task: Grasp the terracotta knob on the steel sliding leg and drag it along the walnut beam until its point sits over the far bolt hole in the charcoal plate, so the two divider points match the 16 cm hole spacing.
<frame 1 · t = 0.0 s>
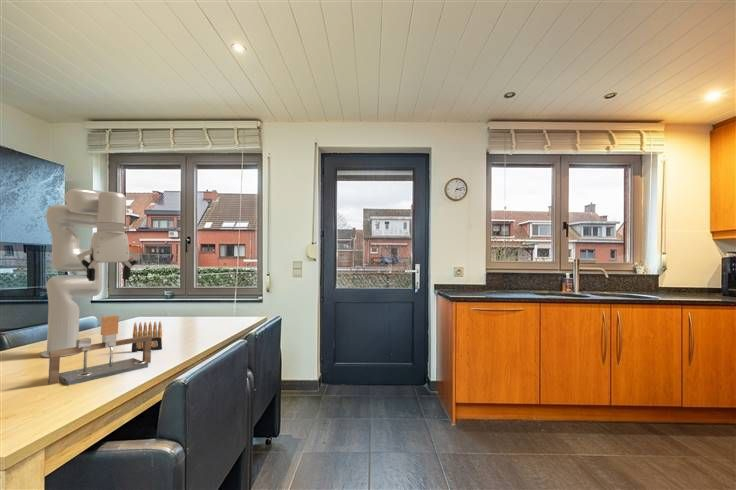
hand: (109, 280, 114), 31 cm above the table, tool pointing down, fingers open, 9 cm apart
sliding leg: (109, 341, 117), point 10 cm above the table, slide at 3.0 cm
ammunition clip: (146, 350, 144), on the table
divider frame: (104, 372, 116), on the table
bolt plate: (104, 372, 116), on the table
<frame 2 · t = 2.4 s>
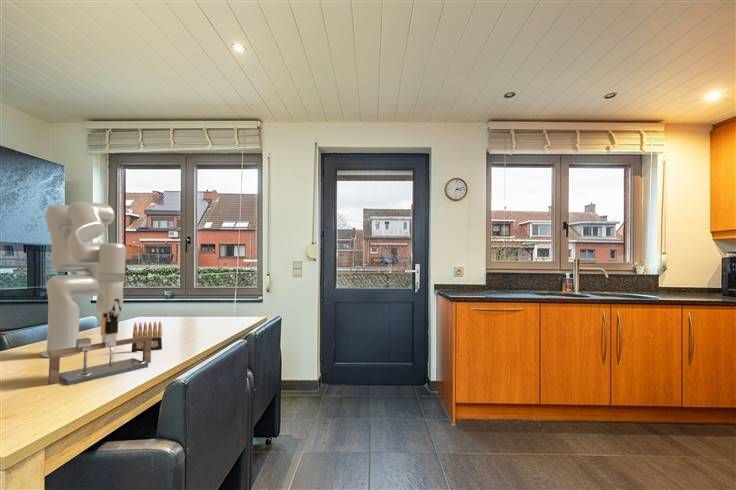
hand: (109, 332, 117), 13 cm above the table, tool pointing down, fingers closed on sliding leg, 3 cm apart
sliding leg: (109, 341, 117), point 10 cm above the table, slide at 3.0 cm, touching gripper
everything else where it was.
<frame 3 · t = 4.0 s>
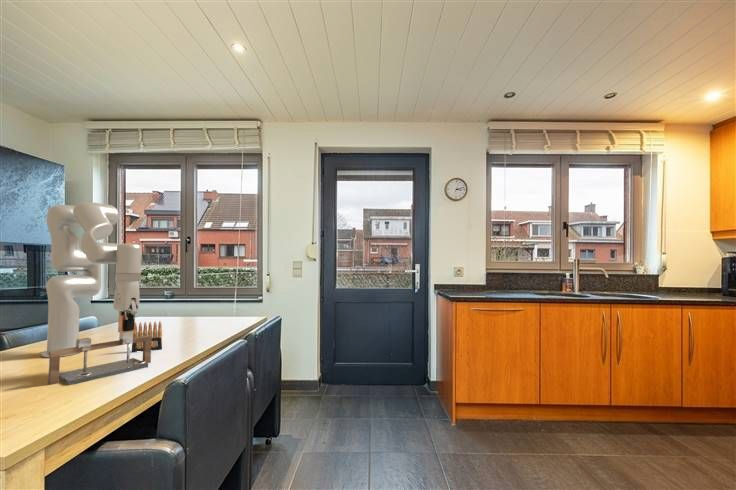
hand: (126, 329, 122), 13 cm above the table, tool pointing down, fingers closed on sliding leg, 3 cm apart
sliding leg: (126, 338, 121), point 10 cm above the table, slide at 8.1 cm, touching gripper
everything else where it was.
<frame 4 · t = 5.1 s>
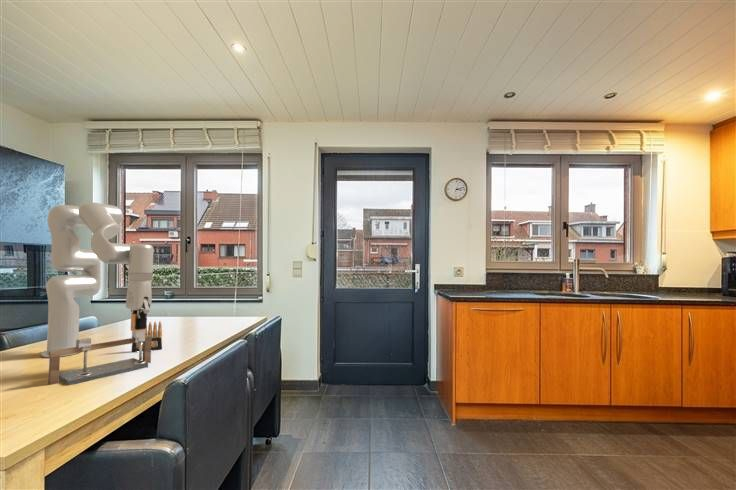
hand: (138, 327, 125), 13 cm above the table, tool pointing down, fingers closed on sliding leg, 3 cm apart
sliding leg: (139, 336, 124), point 10 cm above the table, slide at 12.0 cm, touching gripper
everything else where it was.
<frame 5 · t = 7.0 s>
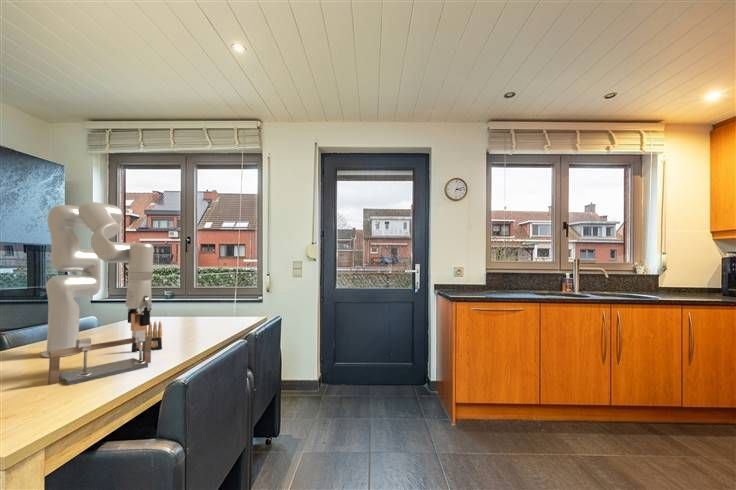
hand: (138, 323, 125), 15 cm above the table, tool pointing down, fingers open, 9 cm apart
sliding leg: (139, 336, 124), point 10 cm above the table, slide at 12.0 cm
everything else where it was.
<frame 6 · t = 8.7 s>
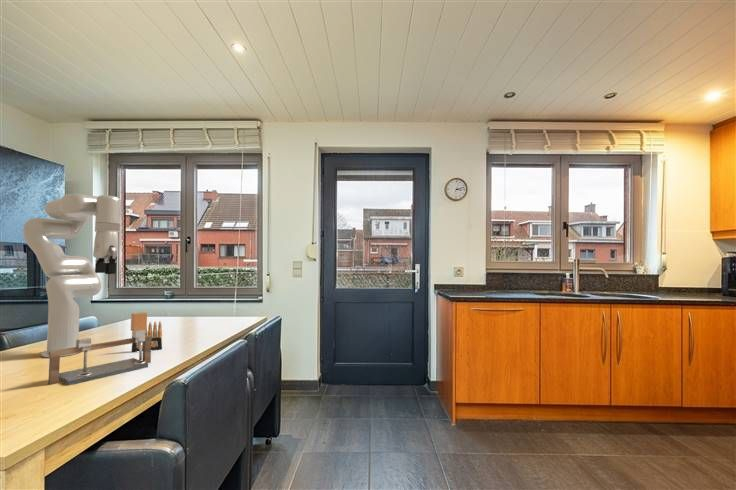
hand: (105, 273, 130), 33 cm above the table, tool pointing down, fingers open, 9 cm apart
nothing on the table moved.
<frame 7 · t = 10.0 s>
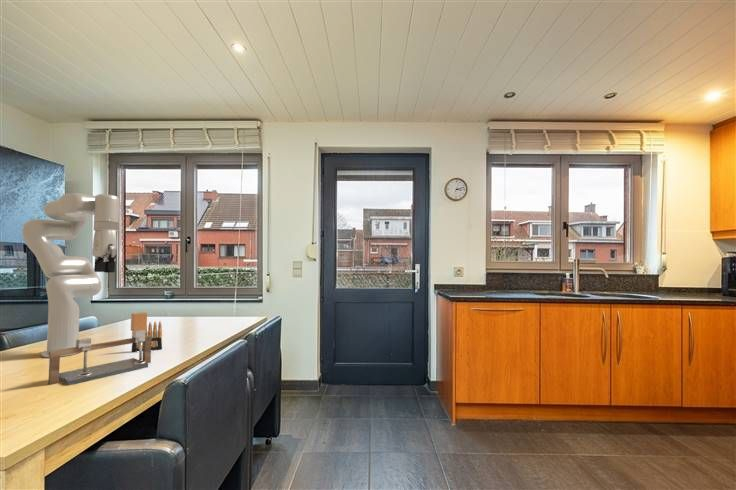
hand: (104, 272, 130), 33 cm above the table, tool pointing down, fingers open, 9 cm apart
nothing on the table moved.
at the end: sliding leg slide at 12.0 cm; the gripper is holding nothing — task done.
